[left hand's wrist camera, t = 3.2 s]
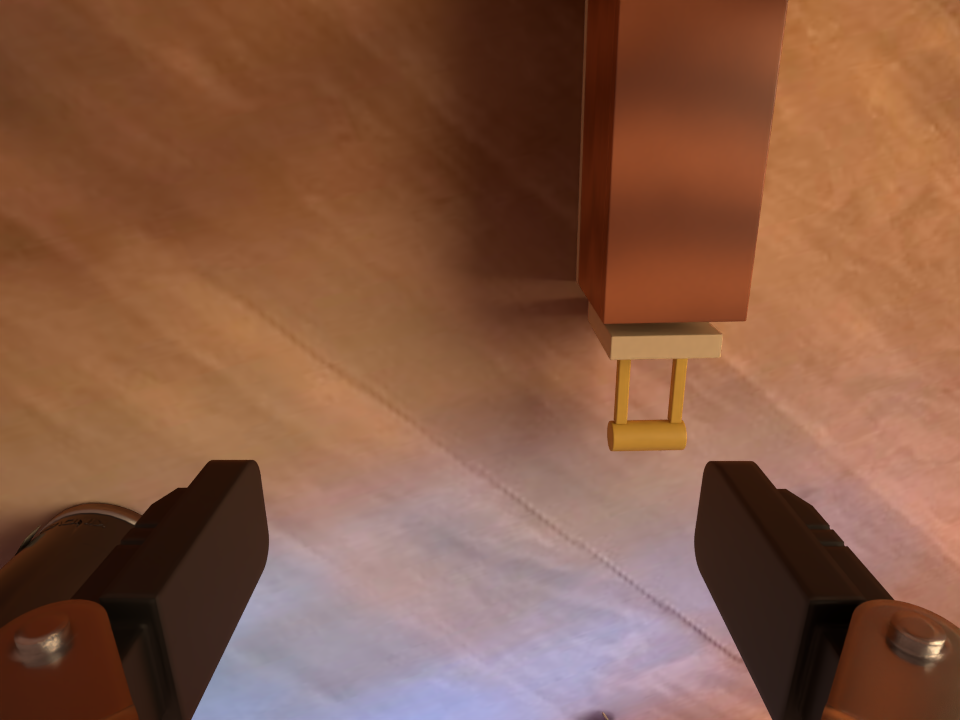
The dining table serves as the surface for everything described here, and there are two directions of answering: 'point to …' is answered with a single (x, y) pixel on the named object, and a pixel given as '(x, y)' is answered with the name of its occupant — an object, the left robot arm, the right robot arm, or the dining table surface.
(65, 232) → the dining table surface
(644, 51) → the cabinet
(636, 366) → the dining table surface
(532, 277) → the dining table surface
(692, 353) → the drawer
